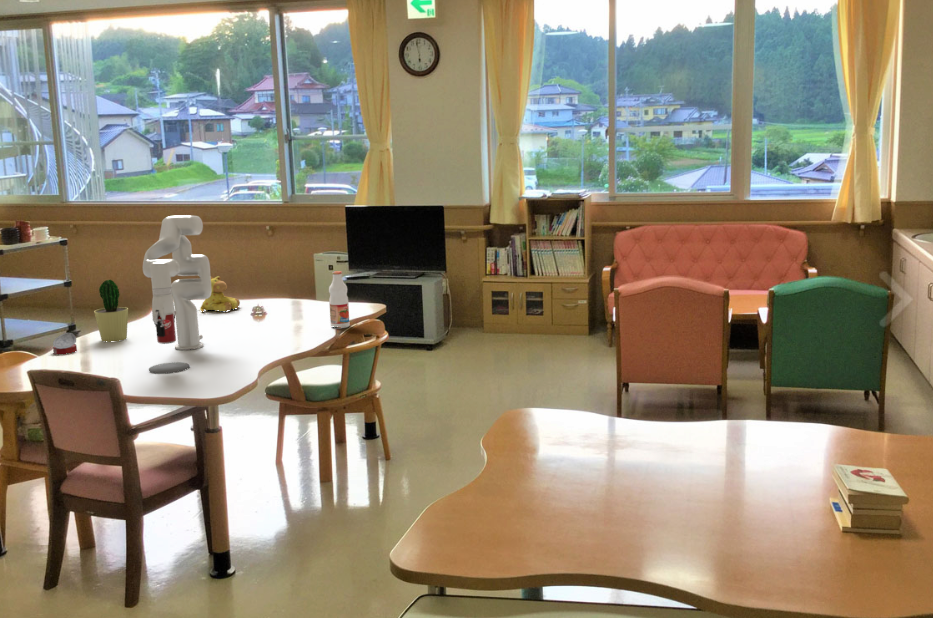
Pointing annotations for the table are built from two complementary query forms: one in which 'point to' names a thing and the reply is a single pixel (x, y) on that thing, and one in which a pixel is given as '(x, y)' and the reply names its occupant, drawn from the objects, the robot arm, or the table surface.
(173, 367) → the charcoal mat
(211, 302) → the giraffe plush
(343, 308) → the fruit juice
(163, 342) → the soda can
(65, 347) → the snow globe
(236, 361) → the table surface
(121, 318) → the potted cactus
